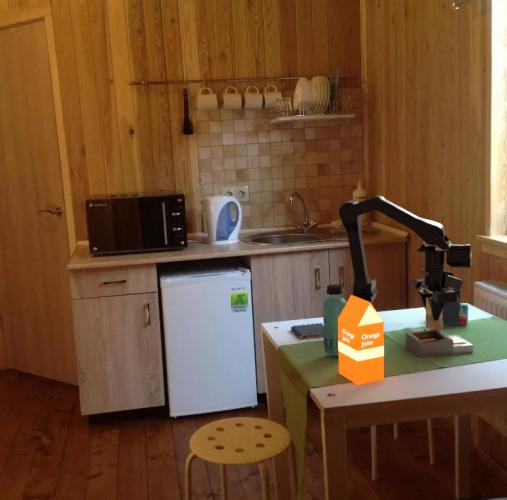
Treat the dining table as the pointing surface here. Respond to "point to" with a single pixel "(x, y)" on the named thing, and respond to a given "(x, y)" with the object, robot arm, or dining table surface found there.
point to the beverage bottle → (332, 318)
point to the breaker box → (436, 343)
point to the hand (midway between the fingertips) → (433, 318)
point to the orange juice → (360, 342)
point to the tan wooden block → (432, 319)
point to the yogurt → (462, 314)
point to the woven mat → (308, 330)
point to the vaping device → (451, 310)
